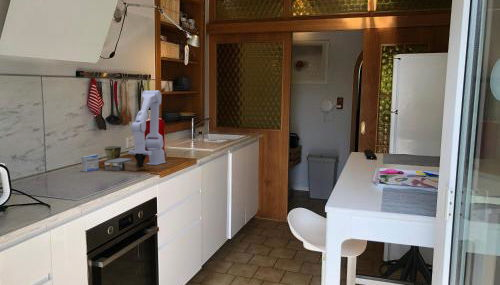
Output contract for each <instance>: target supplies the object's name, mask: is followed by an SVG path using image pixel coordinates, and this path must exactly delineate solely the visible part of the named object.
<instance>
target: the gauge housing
mask: <svg viewBox="0 0 500 285" xmlns="http://www.w3.org/2000/svg"><path fill="white" fill-rule="evenodd" d="M129 160H130V161H133V162H134V160H133V158H127V157H125V158H124V157H120V158H117V159H113V160H109V161H108V160H105V161H104V168H105V171H115V172H117V171H118V172H120V171H123V170H124V171H125V168H124V169H120V167H115V166H119V165H120V163H121V162H125V161H129ZM110 163H112V165H114V166H112V169H111V165H110Z"/></svg>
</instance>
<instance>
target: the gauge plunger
mask: <svg viewBox="0 0 500 285" xmlns="http://www.w3.org/2000/svg"><path fill="white" fill-rule="evenodd" d="M126 162H130V160H129V161H125V162H121V163H120V165H119V166H115V167H120V169H124V168H125V166H124V163H126ZM131 162H134V160H133V161H131ZM110 165H111V169H112V166H114V165H112V163H110ZM124 170H125V169H124Z"/></svg>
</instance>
